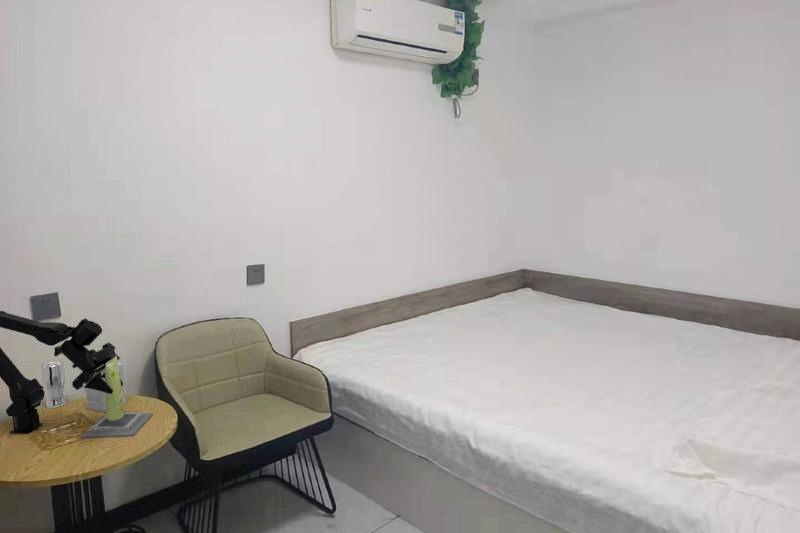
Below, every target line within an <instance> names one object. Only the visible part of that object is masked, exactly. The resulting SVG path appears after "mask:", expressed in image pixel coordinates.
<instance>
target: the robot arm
mask: <svg viewBox="0 0 800 533" xmlns="http://www.w3.org/2000/svg"><path fill="white" fill-rule="evenodd" d="M0 328H2V329H6V330H10V331H13V332H17V333H21V334H25V335H29V336H31V337H33V338H35V339H36V340H37V341H38V342H39V343H41V344H44V345H46V346H50V347H51V346H55V345H57V346H56V347H54V348H53V349H54V353H53V354H54V355H53V356H54V357H58V356H60V355H61V354H62V355H63V356H64V357H65V358H67V359H68V361H70V362H71V363H72V365H71V367H72V368H73V369H75V368H78V369H79V370H80V371H81V372H80V374H79V375H77V376H76V377H75V379H73V381H72V382H71V386H72V388H74V389H75V390H76V391H78V390H80V389H81V388H83V389H86V388H89V389H94V390H98V391H102V392H105V393H109V394H112V393H113V390H112V389H111V388H110V386H109V385H108V384H107V383H106V382H105V381H104V380H103V379H102V378H104V379H105V366H106V363H107V362H108V361H110V360H111V359H112V358H114V357H115V356H117V361H118V362H119V360H120V359H121V357H120V356H118V354H117V353H116V351H115V350H116V346H115V345H114V344H112V343H110V342H107V343H105V344H103V345H102V348H101V349H98V350H97V351H96V350H95V349H90V350H89V349H88V348H87V347H89V346H91V344H92V343H93V342H94V341H95V340H96V339H97V338H98V337H99V336H100V335H101V333H102V332H103V328H102V327H101V326H100V324H98V323H97V322H94V321H92V320H89V319H87V318H82V319H81V320H80V321H79V323H78V324H77V325H76V326H70V325H69V326H68V325H67V324H65V323H63V322H54V321H46V322H45V321H44V322H43V321H38V320H34V319H31V318H28V317H27V318H26V317H22V316H19V315H15V314H12V313H8V312H6V311H4V310H0ZM69 338H70V339H69ZM59 343H62V344H60V345H58V344H59ZM99 372H100V373H99ZM97 373H98V374H97ZM101 373H103V375H102V376H101ZM0 379H1V380H2V381H3V382H4V384H5V386H7V387H8V393H9V398H10V401H11V402H12V403H11V404H10V405H9V406H8V407H7V408H6V409H5V413H6V414H7V416H8V417H11V418H12V424H13V425H12V426H13V429H10V431H9V433H10V434H30V433H31V432H33V431H35V430H37V429H38V427H39V426H40V427H42V426H43V425H44V424H43V422H41V423H40V415H39V412H38V407H40V406H41V403H42V401H43V400H44V398H45V395H46V392H45V389H44V386H43V385H42V384H40V382H39V381H38V379H36V377H35V378H33V379H28V378H26V377H25V376H24V375H23V374H22V373H21V371H20V370H19V369H18V367H17V366H16V365H15V364H14V362H13V361H12V360H11V359H10V358H9V356H8V355H7V353H6V352H5V351H4V350H3V349H2V348H1V347H0ZM120 380H121V379H120ZM85 384H86V385H85ZM122 385H123V383H122V381H121V386H122ZM41 425H42V426H41ZM40 427H39V428H40Z"/></svg>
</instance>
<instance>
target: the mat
mask: <svg viewBox="0 0 800 533" xmlns="http://www.w3.org/2000/svg"><path fill="white" fill-rule="evenodd" d="M105 415H106V414H103V416H102V417H100V418H99V419H98V420H97V421H96V422H94V424H97V423H98V422H99V421H100V420H101V419H102V418H103V417H104V416H105ZM153 415H154V414H153V412H151V413H149V412H147V413H143V417H142V418H141V419H140V420H139V421H138V423H137V424H136V425H135V426H134V427H133V428H132V429H131V430H130V431H129V432H106V433H91V430H89V431H87V430H86V431H85V432H83V433H82V434H81V435H80V436H79V439H87V438H88V439H93V438H95V439H96V438H118V437H119V438H120V437H134V436H135V435H136V434H137V433H138V432H140V431H139V430H141V429H142V428H143V427H144V425H146V423H147V422H148V421H149V420H150V419H151V418H152V417H153ZM132 419H133V418H125V419H118V420H109V421H108V422H106V423H105V424H104V425H103V426H126V425H127V424H128V423H129V422H130V421H131V420H132Z"/></svg>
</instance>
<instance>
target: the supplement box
mask: <svg viewBox="0 0 800 533" xmlns="http://www.w3.org/2000/svg"><path fill="white" fill-rule="evenodd" d="M118 366H119V373H120V379H121V381H122V383H123V385H122V386H121V389H122V398H123V405H124V404H127V403H126V402H127V400H126V389H125V381H124V380H125V379H124V378H125V377H124V368H123V363H122V362H118ZM99 373H100V372H99ZM97 374H98V373H97ZM102 375H103V373H101V376H102ZM102 379H103V380H104V381H105V379H104V378H102ZM85 385H86V384H85V383H84V386H85ZM85 395H86V406H87V409H89V410H94V411H99V412H102V413H105V412H106V393H105V392H102V391H98V390H94V389H89V388H85Z"/></svg>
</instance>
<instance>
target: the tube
mask: <svg viewBox="0 0 800 533" xmlns="http://www.w3.org/2000/svg"><path fill="white" fill-rule="evenodd" d="M117 356H118V355H117ZM117 356H115V357H114V358H112V359H111V360H110V361H108V362H107V363H106V366H105V382H106V383H107V384H108V385H109V386H110V388H111V389H112V390H113V393H112V394H109V393H106V414H107V419H108V420H118V419H121V418H122V417H124V413H125V411H124V404H123V398H122V389H121V380H120V373H119V366H118V363H119V360H118V361H117Z"/></svg>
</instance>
